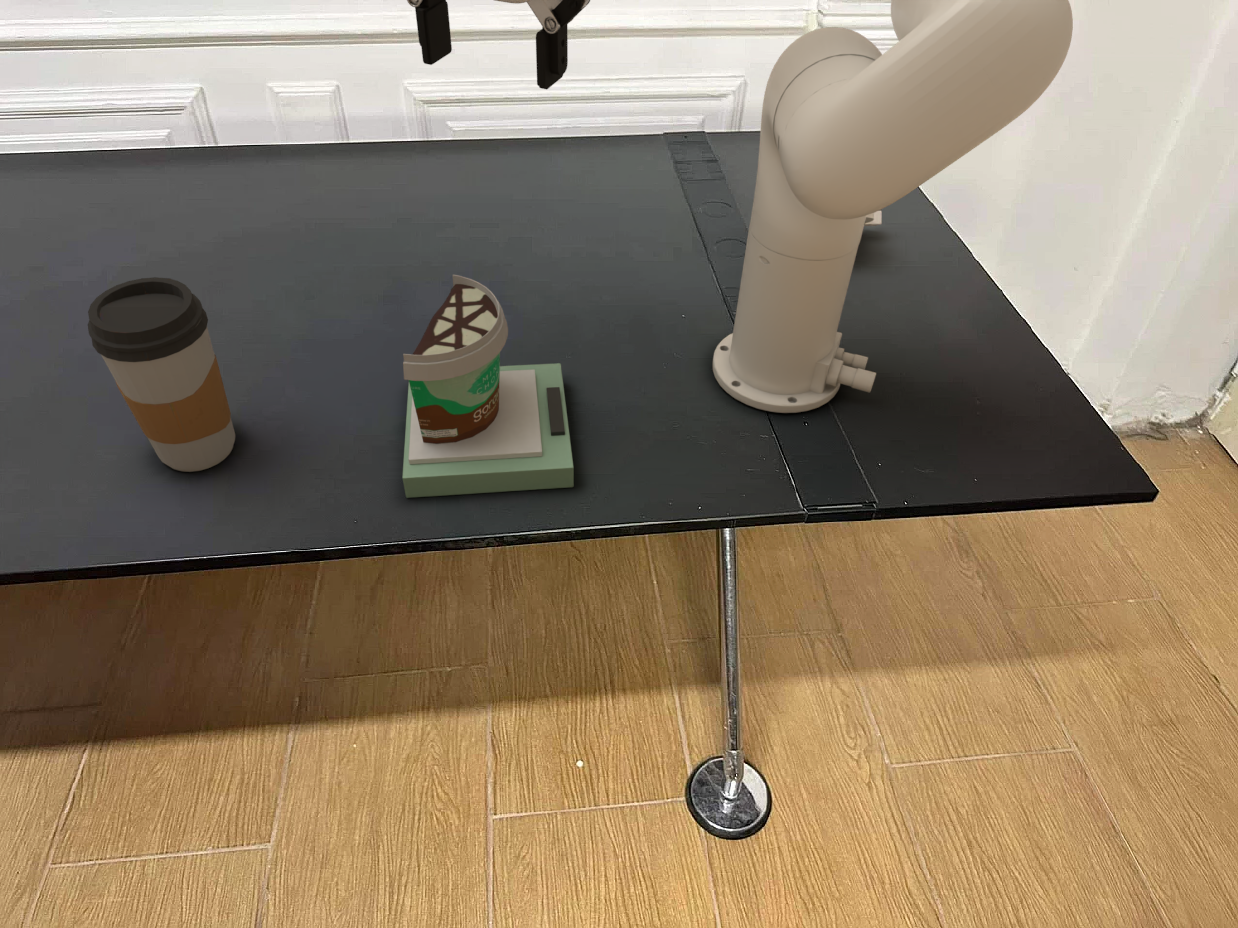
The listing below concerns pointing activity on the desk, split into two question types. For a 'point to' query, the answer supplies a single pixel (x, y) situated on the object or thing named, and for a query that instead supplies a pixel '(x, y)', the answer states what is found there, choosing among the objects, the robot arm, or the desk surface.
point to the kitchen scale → (499, 442)
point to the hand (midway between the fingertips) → (493, 70)
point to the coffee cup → (165, 369)
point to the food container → (458, 365)
